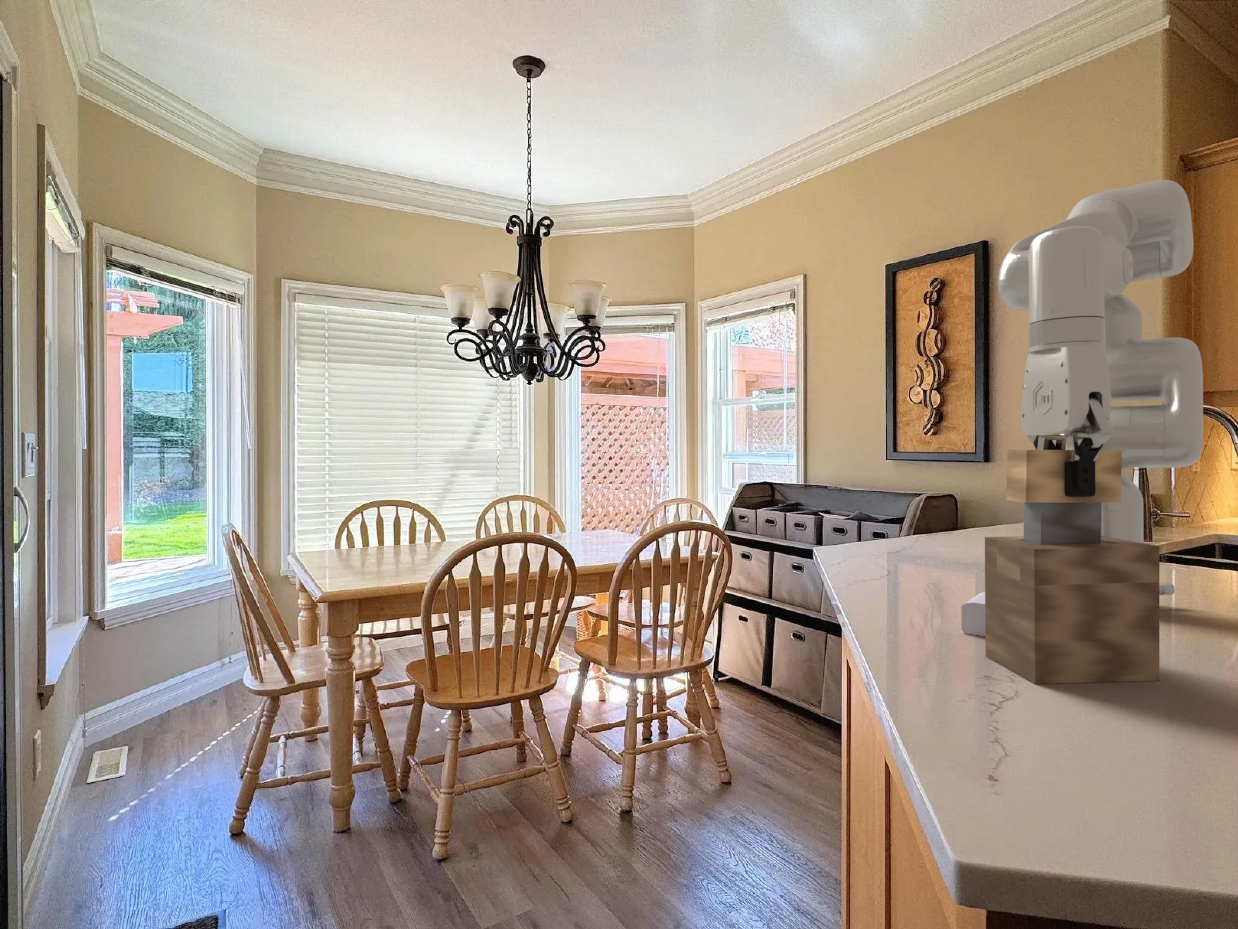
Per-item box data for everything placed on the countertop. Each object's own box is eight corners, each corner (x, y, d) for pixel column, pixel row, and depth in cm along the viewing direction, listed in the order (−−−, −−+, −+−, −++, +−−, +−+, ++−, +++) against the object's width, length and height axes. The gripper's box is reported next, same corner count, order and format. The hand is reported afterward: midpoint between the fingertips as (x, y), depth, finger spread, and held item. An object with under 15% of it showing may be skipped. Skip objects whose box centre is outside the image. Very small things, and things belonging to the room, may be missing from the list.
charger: (1055, 622, 107) (1036, 645, 96) (987, 613, 113) (961, 635, 102) (1055, 590, 107) (1036, 610, 96) (987, 583, 113) (961, 601, 101)
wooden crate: (1096, 653, 91) (1095, 534, 90) (1159, 680, 80) (1159, 546, 80) (985, 656, 91) (984, 537, 90) (1034, 684, 80) (1034, 549, 80)
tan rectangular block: (1096, 541, 87) (1098, 450, 87) (1119, 546, 83) (1121, 450, 83) (1005, 541, 87) (1007, 449, 87) (1024, 546, 83) (1026, 449, 83)
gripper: (995, 348, 93) (996, 491, 93) (1081, 327, 76) (1081, 501, 76) (1053, 347, 93) (1054, 490, 93) (1152, 325, 76) (1152, 499, 77)
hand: (1066, 493), depth 85 cm, fingers closed on tan rectangular block, 4 cm apart
